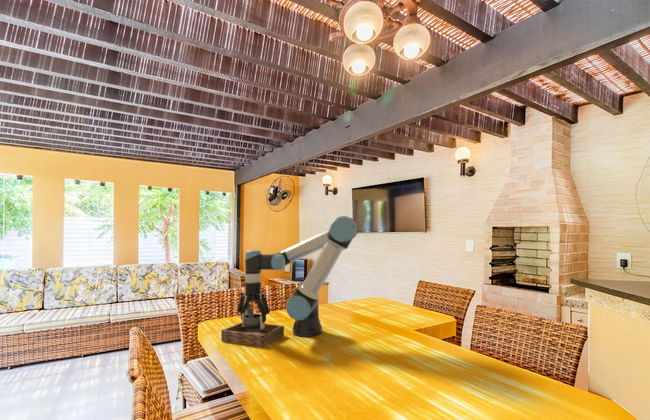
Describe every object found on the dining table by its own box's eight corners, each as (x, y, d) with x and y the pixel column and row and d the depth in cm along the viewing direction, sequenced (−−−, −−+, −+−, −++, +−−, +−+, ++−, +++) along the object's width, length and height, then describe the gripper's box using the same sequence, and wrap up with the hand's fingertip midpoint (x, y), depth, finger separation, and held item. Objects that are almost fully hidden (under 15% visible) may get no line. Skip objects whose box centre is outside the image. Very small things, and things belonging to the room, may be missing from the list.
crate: (283, 336, 175) (283, 325, 175) (262, 347, 159) (262, 336, 159) (244, 330, 185) (244, 321, 185) (221, 340, 169) (221, 330, 169)
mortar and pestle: (267, 330, 171) (266, 305, 172) (249, 334, 165) (249, 308, 165) (254, 325, 179) (254, 302, 180) (238, 329, 173) (238, 305, 174)
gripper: (276, 281, 172) (277, 327, 171) (239, 279, 182) (239, 323, 180) (268, 284, 165) (268, 332, 164) (229, 281, 175) (229, 327, 173)
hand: (253, 327), depth 172 cm, fingers closed on mortar and pestle, 10 cm apart
